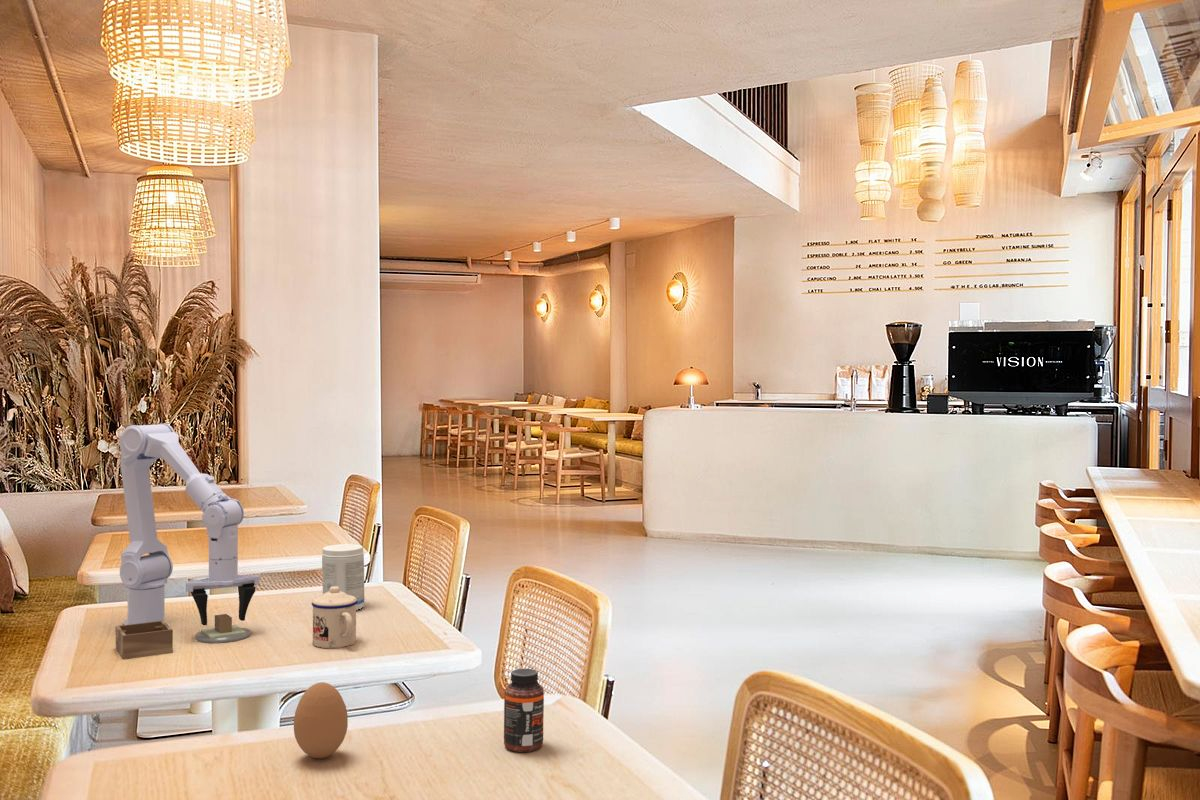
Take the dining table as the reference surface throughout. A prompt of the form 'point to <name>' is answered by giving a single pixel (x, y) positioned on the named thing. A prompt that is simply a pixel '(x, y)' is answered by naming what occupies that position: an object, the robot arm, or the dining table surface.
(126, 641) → the brown wooden open box
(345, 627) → the teacup with lid
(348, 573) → the supplement tub
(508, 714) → the supplement bottle
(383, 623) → the dining table surface
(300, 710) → the egg
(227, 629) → the lid
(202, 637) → the coaster
